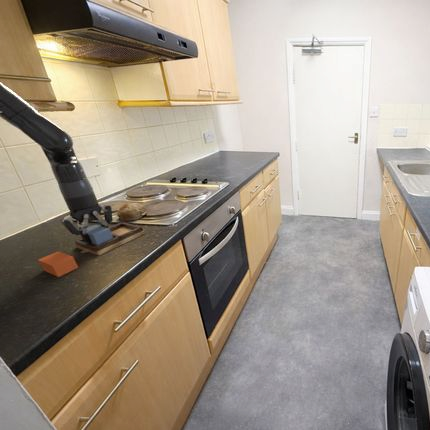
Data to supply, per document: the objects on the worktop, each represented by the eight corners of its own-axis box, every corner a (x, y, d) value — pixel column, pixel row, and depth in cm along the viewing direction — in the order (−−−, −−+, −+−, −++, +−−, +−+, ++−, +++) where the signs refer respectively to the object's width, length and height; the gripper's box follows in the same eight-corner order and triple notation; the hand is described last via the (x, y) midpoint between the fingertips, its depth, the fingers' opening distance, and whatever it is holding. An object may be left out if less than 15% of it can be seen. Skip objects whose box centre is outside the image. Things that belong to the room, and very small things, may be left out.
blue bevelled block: (97, 245, 88) (93, 235, 87) (84, 241, 91) (79, 230, 90) (113, 238, 92) (109, 228, 91) (99, 234, 95) (95, 224, 94)
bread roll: (136, 229, 111) (139, 213, 108) (110, 220, 109) (112, 204, 106) (149, 219, 120) (152, 204, 117) (125, 211, 118) (127, 195, 115)
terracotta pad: (58, 277, 77) (52, 265, 75) (44, 270, 80) (37, 259, 78) (78, 267, 81) (73, 256, 79) (64, 261, 84) (58, 251, 82)
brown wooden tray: (98, 255, 87) (95, 248, 86) (76, 247, 92) (73, 240, 91) (145, 233, 100) (143, 227, 99) (123, 227, 105) (121, 221, 104)
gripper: (96, 184, 92) (113, 228, 99) (43, 199, 80) (67, 247, 87) (109, 187, 89) (126, 231, 96) (57, 202, 77) (80, 251, 84)
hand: (98, 238), depth 92 cm, fingers closed on blue bevelled block, 5 cm apart
